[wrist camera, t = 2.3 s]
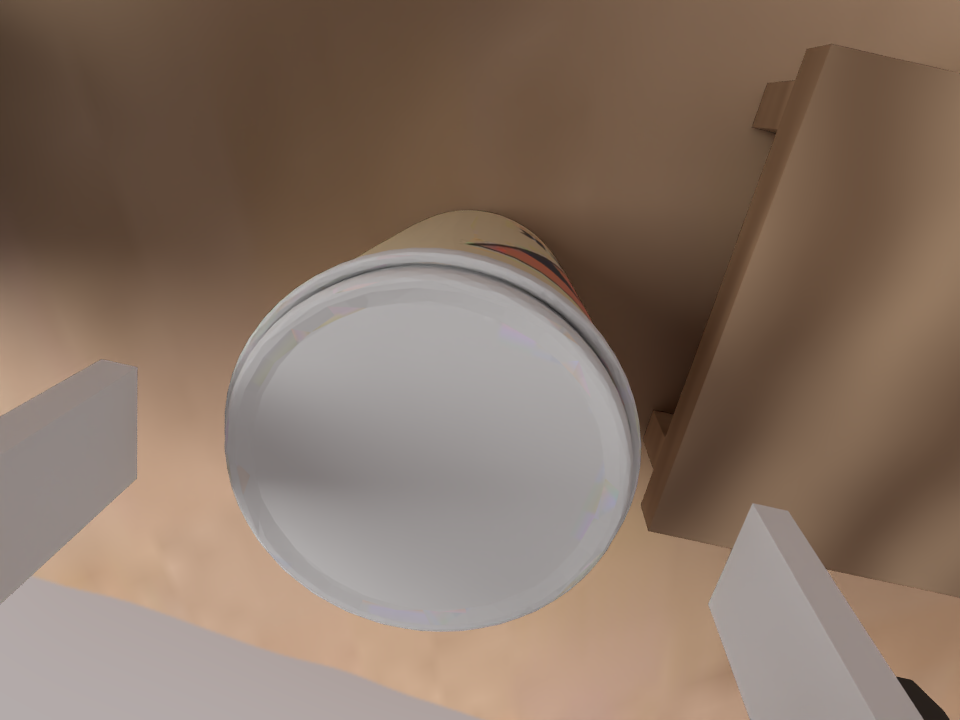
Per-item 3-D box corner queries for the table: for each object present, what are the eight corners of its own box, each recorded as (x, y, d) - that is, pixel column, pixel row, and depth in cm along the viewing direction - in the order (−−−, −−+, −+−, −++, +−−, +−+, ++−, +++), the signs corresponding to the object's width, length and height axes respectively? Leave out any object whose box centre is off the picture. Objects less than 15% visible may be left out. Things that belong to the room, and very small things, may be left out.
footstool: (624, 448, 26) (648, 531, 21) (756, 59, 21) (831, 43, 16) (971, 524, 27) (1078, 623, 22) (1195, 159, 21) (1410, 175, 16)
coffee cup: (618, 381, 25) (692, 596, 14) (403, 441, 27) (317, 675, 16) (551, 148, 22) (576, 190, 11) (312, 233, 24) (127, 343, 13)
